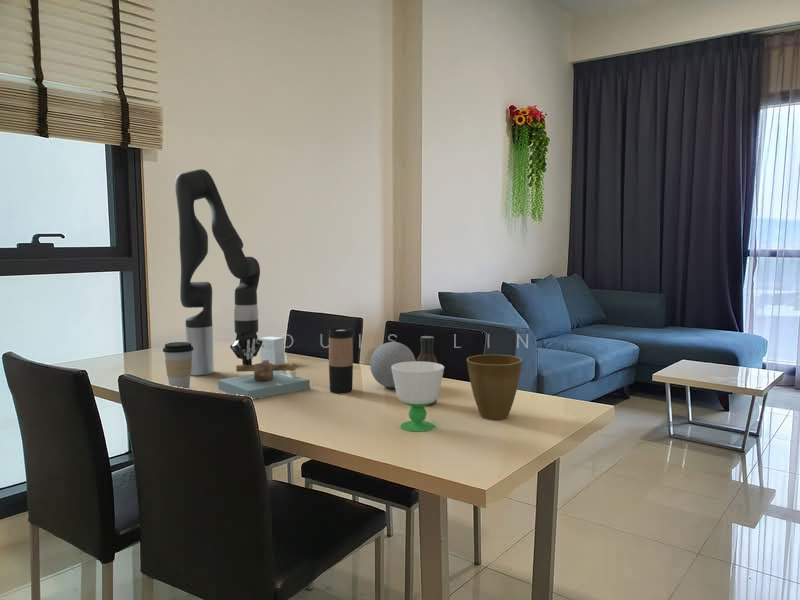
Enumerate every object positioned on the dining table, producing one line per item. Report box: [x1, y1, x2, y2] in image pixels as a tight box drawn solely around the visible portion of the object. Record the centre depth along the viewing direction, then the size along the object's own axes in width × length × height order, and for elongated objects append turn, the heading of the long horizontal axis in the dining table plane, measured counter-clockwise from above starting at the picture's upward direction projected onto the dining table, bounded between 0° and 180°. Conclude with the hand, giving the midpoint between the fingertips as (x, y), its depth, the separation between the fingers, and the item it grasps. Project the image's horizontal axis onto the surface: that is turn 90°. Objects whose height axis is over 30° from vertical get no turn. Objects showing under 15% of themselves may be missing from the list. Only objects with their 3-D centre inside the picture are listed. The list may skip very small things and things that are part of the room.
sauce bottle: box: [416, 335, 439, 406], centre depth 182 cm, size 6×6×20 cm
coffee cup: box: [162, 341, 194, 389], centre depth 199 cm, size 9×9×15 cm
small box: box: [259, 336, 286, 364], centre depth 241 cm, size 8×6×10 cm
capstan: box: [235, 360, 298, 381], centre depth 200 cm, size 19×17×5 cm
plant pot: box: [466, 354, 523, 421], centre depth 169 cm, size 15×15×16 cm
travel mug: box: [328, 327, 354, 395], centre depth 197 cm, size 8×8×20 cm
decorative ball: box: [369, 341, 416, 389], centre depth 203 cm, size 15×15×15 cm
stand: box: [217, 370, 311, 400], centre depth 200 cm, size 21×22×5 cm
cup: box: [391, 360, 445, 433], centre depth 159 cm, size 14×14×16 cm
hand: (247, 370), depth 202 cm, fingers closed
